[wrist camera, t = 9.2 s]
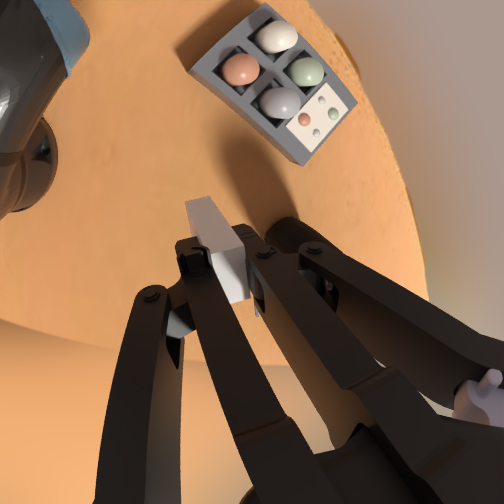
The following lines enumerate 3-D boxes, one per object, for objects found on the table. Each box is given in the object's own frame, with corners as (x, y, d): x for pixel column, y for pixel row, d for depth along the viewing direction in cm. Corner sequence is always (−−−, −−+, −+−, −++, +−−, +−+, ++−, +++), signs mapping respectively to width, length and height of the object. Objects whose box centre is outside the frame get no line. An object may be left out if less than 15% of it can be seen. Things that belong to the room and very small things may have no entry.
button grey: (251, 103, 35) (263, 103, 31) (271, 83, 34) (284, 80, 31) (272, 123, 37) (286, 125, 34) (291, 103, 37) (306, 103, 33)
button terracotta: (211, 73, 33) (219, 69, 29) (232, 53, 32) (242, 47, 28) (234, 92, 35) (244, 90, 31) (254, 72, 34) (266, 68, 31)
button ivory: (248, 40, 30) (259, 32, 26) (267, 23, 29) (281, 14, 26) (270, 59, 32) (283, 55, 29) (288, 42, 32) (303, 36, 28)
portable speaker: (283, 264, 54) (337, 331, 38) (251, 238, 49) (304, 307, 33) (313, 233, 53) (379, 289, 37) (285, 203, 48) (354, 257, 32)
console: (187, 72, 33) (191, 67, 29) (254, 10, 30) (266, 1, 26) (289, 161, 45) (304, 167, 41) (341, 101, 42) (359, 102, 38)
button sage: (277, 72, 35) (291, 69, 32) (295, 55, 34) (309, 51, 31) (296, 92, 38) (311, 91, 34) (313, 75, 37) (329, 73, 33)
